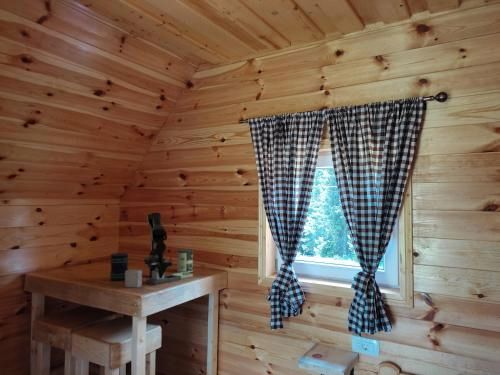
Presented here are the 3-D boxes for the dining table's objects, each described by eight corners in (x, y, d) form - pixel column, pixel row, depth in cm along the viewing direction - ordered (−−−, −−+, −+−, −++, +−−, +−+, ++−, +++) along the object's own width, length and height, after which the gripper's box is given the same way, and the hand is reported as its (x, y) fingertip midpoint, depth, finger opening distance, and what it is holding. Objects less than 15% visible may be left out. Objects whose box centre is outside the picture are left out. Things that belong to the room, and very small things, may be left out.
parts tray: (171, 276, 224) (171, 274, 224) (183, 274, 231) (183, 272, 231) (180, 279, 218) (180, 276, 218) (192, 276, 225) (192, 274, 225)
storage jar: (107, 281, 211) (108, 255, 211) (113, 278, 220) (113, 253, 221) (125, 281, 211) (125, 255, 212) (129, 277, 221) (130, 253, 222)
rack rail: (145, 282, 208) (145, 279, 208) (171, 277, 222) (171, 274, 222) (155, 285, 202) (155, 281, 202) (181, 279, 216) (181, 276, 216)
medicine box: (142, 286, 201) (142, 270, 201) (137, 287, 196) (137, 271, 197) (129, 285, 203) (129, 269, 203) (124, 287, 198) (124, 270, 199)
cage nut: (151, 282, 209) (151, 267, 209) (159, 280, 213) (159, 266, 213) (156, 283, 206) (157, 269, 206) (164, 281, 209) (164, 267, 210)
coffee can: (191, 269, 248) (191, 248, 249) (193, 272, 238) (193, 250, 239) (176, 270, 245) (176, 249, 246) (177, 273, 235) (177, 251, 236)
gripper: (136, 250, 210) (136, 277, 209) (156, 253, 198) (155, 282, 197) (153, 248, 218) (153, 274, 218) (172, 251, 206) (172, 279, 205)
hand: (158, 277), depth 209 cm, fingers closed on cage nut, 5 cm apart
